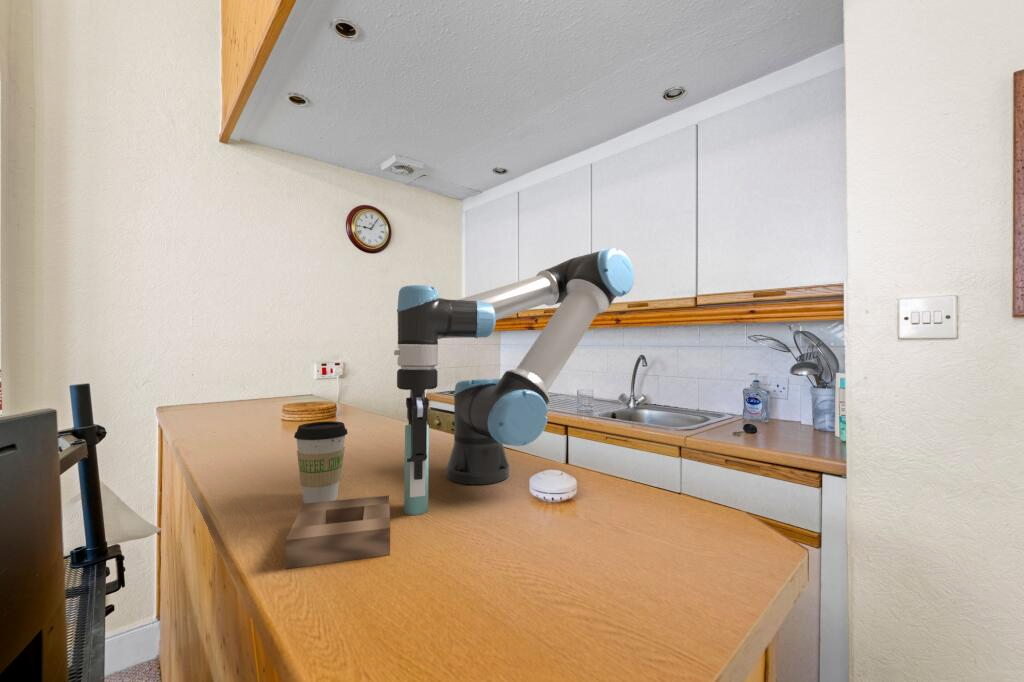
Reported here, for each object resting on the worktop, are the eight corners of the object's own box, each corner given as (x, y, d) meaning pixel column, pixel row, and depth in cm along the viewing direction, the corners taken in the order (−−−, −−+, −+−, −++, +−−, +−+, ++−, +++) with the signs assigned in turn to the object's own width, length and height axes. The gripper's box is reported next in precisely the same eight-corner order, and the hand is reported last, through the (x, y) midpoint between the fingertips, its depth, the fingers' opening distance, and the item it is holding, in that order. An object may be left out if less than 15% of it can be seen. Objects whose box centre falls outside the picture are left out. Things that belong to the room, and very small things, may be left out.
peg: (426, 504, 82) (427, 423, 82) (429, 513, 77) (430, 427, 78) (403, 507, 80) (404, 424, 80) (404, 516, 76) (405, 428, 76)
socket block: (388, 517, 75) (389, 495, 76) (389, 554, 62) (390, 527, 62) (303, 527, 71) (303, 503, 71) (285, 569, 58) (285, 540, 58)
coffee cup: (308, 513, 77) (309, 432, 77) (283, 501, 83) (285, 425, 83) (356, 498, 85) (357, 424, 85) (330, 488, 91) (331, 419, 91)
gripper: (395, 365, 86) (394, 478, 86) (398, 370, 70) (397, 510, 69) (432, 365, 89) (431, 475, 88) (443, 370, 72) (442, 506, 72)
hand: (416, 490), depth 79 cm, fingers closed on peg, 4 cm apart
